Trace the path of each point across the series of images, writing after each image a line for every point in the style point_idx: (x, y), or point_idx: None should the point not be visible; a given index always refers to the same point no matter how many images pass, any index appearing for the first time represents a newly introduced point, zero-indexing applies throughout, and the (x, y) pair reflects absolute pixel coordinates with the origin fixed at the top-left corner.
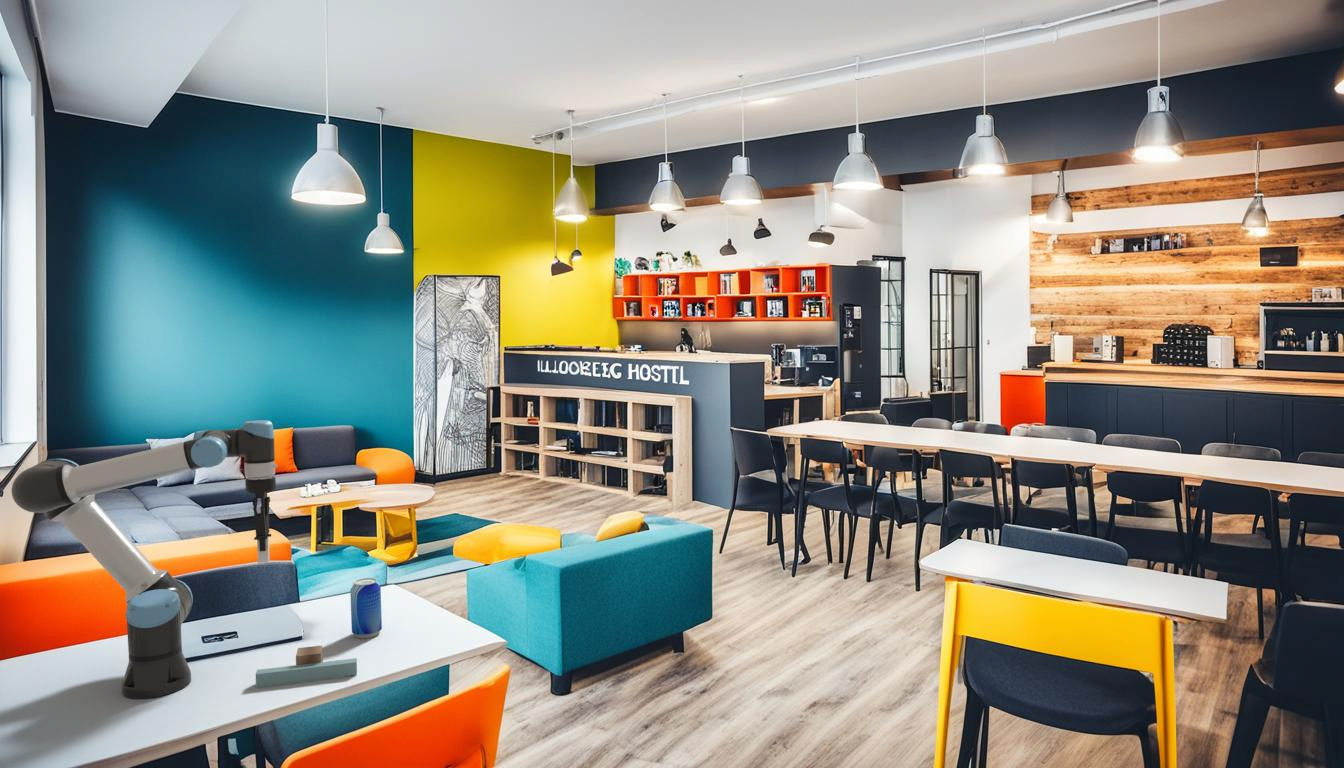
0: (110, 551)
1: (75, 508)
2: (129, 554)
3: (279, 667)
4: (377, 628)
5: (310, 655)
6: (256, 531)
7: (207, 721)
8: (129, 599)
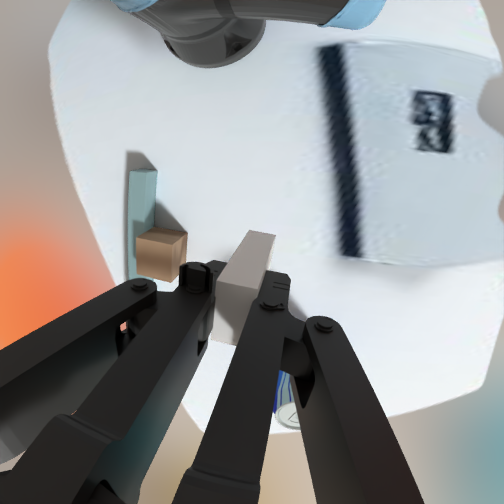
0: None
1: None
2: None
3: (143, 207)
4: None
5: (136, 258)
6: (90, 306)
7: (71, 120)
8: None
